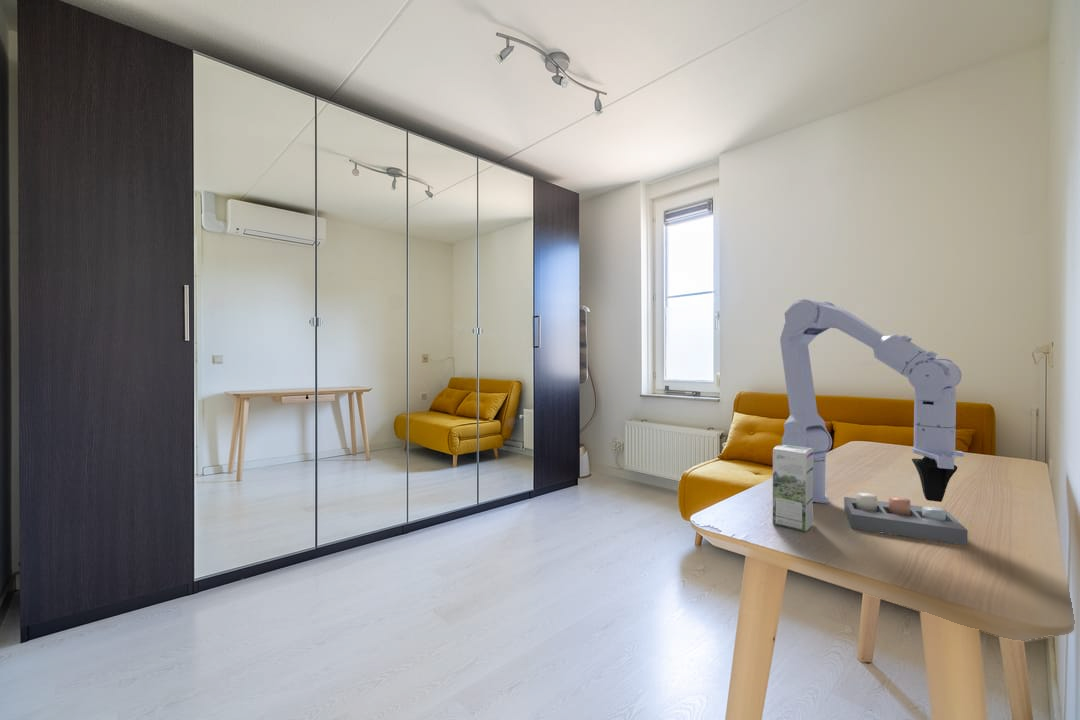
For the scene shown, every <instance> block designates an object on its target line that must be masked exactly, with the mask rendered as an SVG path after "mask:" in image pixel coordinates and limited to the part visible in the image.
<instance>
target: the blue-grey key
mask: <svg viewBox="0 0 1080 720" xmlns="http://www.w3.org/2000/svg"><path fill="white" fill-rule="evenodd" d="M943 509H944V508H939V507H937V506H930V505H929V506H926V505H925V506H922V518H926V519H934V520H941V521H946V511H947V510H946V509H945V510H946V511H945V510H943Z"/></svg>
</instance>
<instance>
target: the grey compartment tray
mask: <svg viewBox="0 0 1080 720" xmlns="http://www.w3.org/2000/svg"><path fill="white" fill-rule="evenodd" d="M843 500H844V501H843V503H844V505H843V509H844V512H845V515H846V518H847V520H848V523H849V525H850V528H851V529H852V530H853V529H854V530H859V531H860V530H861V531H866V532H867V531H868V532H873V531H874V533H879V532H883V533H882V534H886V533H891V534H890V535H893V534H897V535H896V536H899V535H904V536H903V537H906V536H909V537H908V538H913V537H914V539H919V538H920V539H921V540H926V541H933V542H941V543H947V544H955V545H960V546H967V547H968V534H969V533H968V529H967V528H966V527H965V526H964V525H963V524H961V522H960V521H959V520H957V519H956V518H955V517H954V516H953V515H952V514H951V513H950V512H948V510H946V509H945V508H942V509H943V510H945V511H946V521H941V520H934V519H926V518H922V507H923V506H921V505H913V504H910V516H904V515H896V514H891V513H889V512H888V502H889V501H881V500H877V511H876V512H874V511H866V510H859V509H857V508H856V497H848V496H844V498H843Z"/></svg>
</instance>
